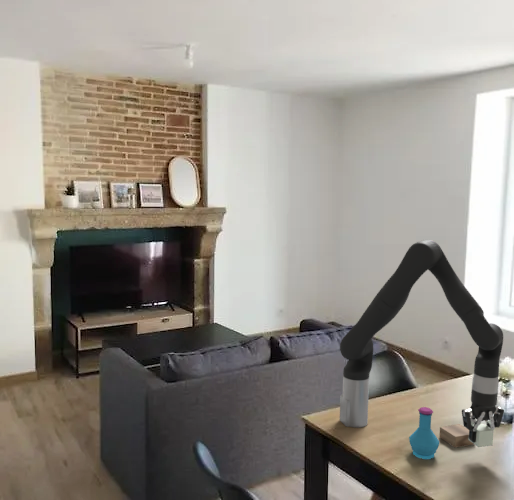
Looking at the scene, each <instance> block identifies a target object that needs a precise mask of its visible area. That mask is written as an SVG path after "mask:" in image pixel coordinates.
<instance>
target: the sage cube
mask: <svg viewBox="0 0 514 500" xmlns="http://www.w3.org/2000/svg"><path fill="white" fill-rule="evenodd" d="M473 426H474V425H473ZM494 430H495V429H494ZM494 430H492V429H491V428H489V427H488V426H487V425H486V423H482V422H481V424H480V425H479V426H478V428H477V430H476V432H477V433H476V442H474V443H473V442H472V441H471V442H472V443H473V445H475V446H476V447H477V448H482V447H491V446H493V441H494V433H495V431H494ZM468 440H469V441H470V439H469V438H468Z"/></svg>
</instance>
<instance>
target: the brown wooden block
mask: <svg viewBox="0 0 514 500" xmlns="http://www.w3.org/2000/svg"><path fill="white" fill-rule="evenodd" d="M438 437H439V438H440V439H442V440H443V441H445V442H446V443H447V444H449V445H450V446H452V447H453V448H462V447H467V446H472V445H474V444H473V443H472V442H471V441H469V440H468V438H469V430H468V429H467V428H466V427H464V425H463V424H461V423H456V424H450V425H443V426H442V425H441V426H439V436H438Z"/></svg>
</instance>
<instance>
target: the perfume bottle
mask: <svg viewBox="0 0 514 500" xmlns="http://www.w3.org/2000/svg"><path fill="white" fill-rule="evenodd" d="M417 410H418V411H417V412H418V414H419V421H418V427H417V429H416V430H415V431H414V432H412V434H411V435H410V436H409V438H408V440H409V445H410V447H411V448H410V449H411V450H412V454H413V456H414V455H415V456H414V457H416V458H417V459H421V458H422V460H431V458H432V459H434V457H435V454H436V453H437V450H438V448H439V446H440V440H439V439H438V437H437V436H436V434H435V433H434V432H433V430H432V427H431V426H432V416H433V414H434V410H433V409H432V408H430V407H426V406H423V407H420V408H419V409H417Z"/></svg>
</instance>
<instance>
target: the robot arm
mask: <svg viewBox="0 0 514 500" xmlns="http://www.w3.org/2000/svg"><path fill="white" fill-rule="evenodd" d="M427 271H429V272H430V273H431V274H432V275H433V276H434V277H435V278H436V280H437V282H438V283H439V285H440V287H441V288H442V292H443V293H444V296H445V297H446V301H447V302H448V304H449V305H450V307H451V308H452V310H453V311H454V312H455V313H456V315H457V316H458V318H460V320H461V321H462V323H464V326H465V328H466V330H467V331H468V333H469V335H470V337H471V339H472V341H473V342H474V343H475V344H476V346H478V349H477V351H478V352H477V353H476V356H475V359H474V367H473V375H472V380H471V381H472V382H471V394H470V395H471V396H470V401H471V404H470V408H468V409H465V408H463V409H461V417H462V425H463V426H464V427H465V428H467V429H468V430H469V439H470V441H472V442H473V443H474V442H476V433H477V432H476V430H477V428H478V426H479V425H480V424H482V422H483V421H485V425H486V426H488V427H489V428H491V429H492V430H495V429H496V428H500V426H501V423H502V419H503V417H504V413H505V410H504V409H503V408H501V407H500V406H497V405H498V395H499V386H500V385H499V384H500V381H499V372H500V358H501V355H502V354H501V353H502V348H503V343H504V332H503V330H502V328H501V327H500V326H499V325H498V324H495V323H489V322H488V320H487V318H486V317H485V315H484V313H485V312H484V310H483V308H482V307H481V306H480V304H479V302H477V301H476V299H475V298H474V297H473V296H472V294H471V292H470V291H469V290H468V289H467V288H466V287H465V285H464V284H463V282H462V280H460V278H459V276H458V275H457V273H456V271H455V270H454V269H453V266H452V265H451V263H450V262H449V259H448V258H447V256H446V255H445V252H444V251H443V249H442V247H441V246H440V245H439V243H437V242H436V241H434V240H432V239H423V240H420V241H416V242H415V243H412V244H411V245H410V246H409V248H408V249H407V250H406V252H405V254H404V256H403V258H402V260H401V261H400V263H399V265H398V267H396V270H395V271H394V272H393V274H392V275H391V276H390V277H389V278H388V279H387V281H386V282H385V284H384V285H383V286H381V288H380V290H378V292H377V293H376V295H375V296H374V297H373V299H372V301H371V303H369V305H368V306H367V308H366V309H365V310H364V312H363V313H362V315H361V316H360V318H359V320H357V322H356V323H355V324H354V326H353V327H351V329H350V330H349V331H348V332H347V333H346V334H345V335H344V336H343V338H341V341H340V345H339V351H340V354H341V355H342V357H343V358H344V359H346V360H348V361H347V363H346V364H345V366H344V367H343V371H342V394H340V397H339V398H340V399H339V421H340V422H341V423H342V424H343V425H344V426H345V427H346V428H348V427H351V428H364V427H366V426H367V425H368V420H369V396H370V395H369V391H370V373H371V371H372V368H373V360H374V359H373V358H374V342H373V339H372V338H373V337H374V336H375V335H376V334H377V333H378V332H379V331H381V330H382V329H384V328H385V327H386V326H387V325H389V323H390V322H391V321H392V320H393V319H394V318H395V317H397V315H398V314H399V312H400V311H401V310H402V308H403V307H404V306H405V305H406V302H407V301H408V298H409V295H410V294H411V290H412V288H413V287H414V285H415V284H416V282H417V281H418V280H419V279H420V278H421V277H422V276H423V275H424V273H426V272H427ZM473 425H474V426H473Z"/></svg>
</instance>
